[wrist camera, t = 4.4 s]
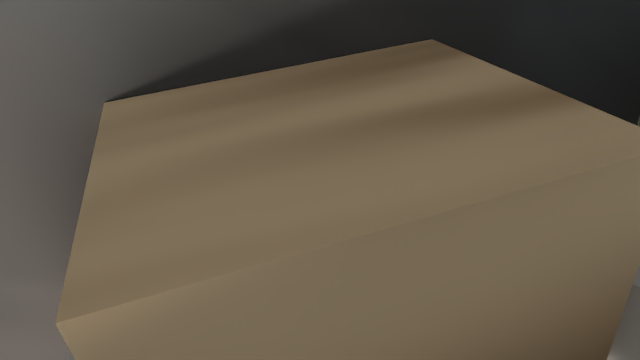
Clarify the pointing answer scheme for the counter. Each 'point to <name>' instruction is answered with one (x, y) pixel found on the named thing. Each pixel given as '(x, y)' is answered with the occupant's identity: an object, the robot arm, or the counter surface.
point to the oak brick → (355, 218)
